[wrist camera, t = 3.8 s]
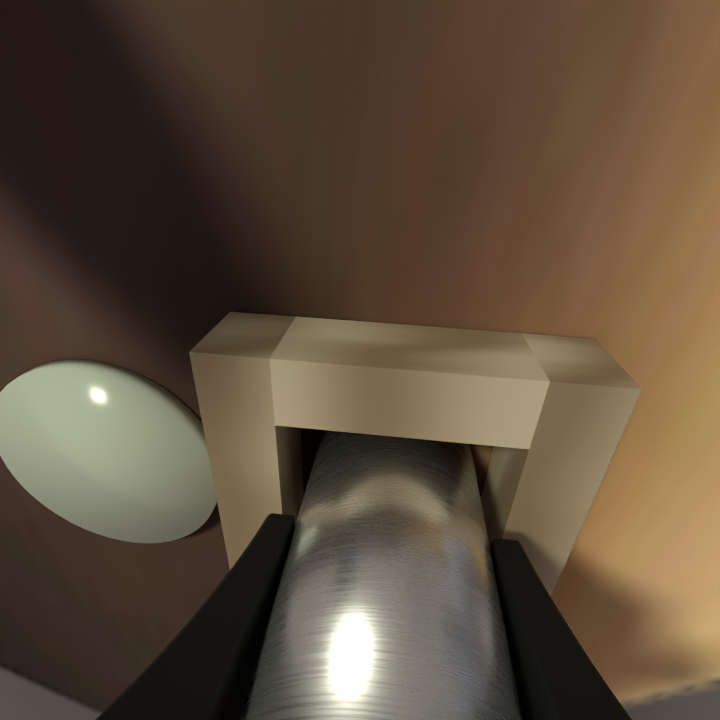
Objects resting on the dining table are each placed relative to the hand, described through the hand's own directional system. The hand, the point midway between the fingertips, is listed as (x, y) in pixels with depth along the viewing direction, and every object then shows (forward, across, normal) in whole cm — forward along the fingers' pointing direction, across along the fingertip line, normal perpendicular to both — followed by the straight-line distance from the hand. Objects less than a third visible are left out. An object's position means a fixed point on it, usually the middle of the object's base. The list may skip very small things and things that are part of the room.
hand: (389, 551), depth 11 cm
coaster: (+3, +10, +1) cm, 11 cm away
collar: (+3, 0, 0) cm, 3 cm away
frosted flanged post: (+3, 0, 0) cm, 3 cm away
